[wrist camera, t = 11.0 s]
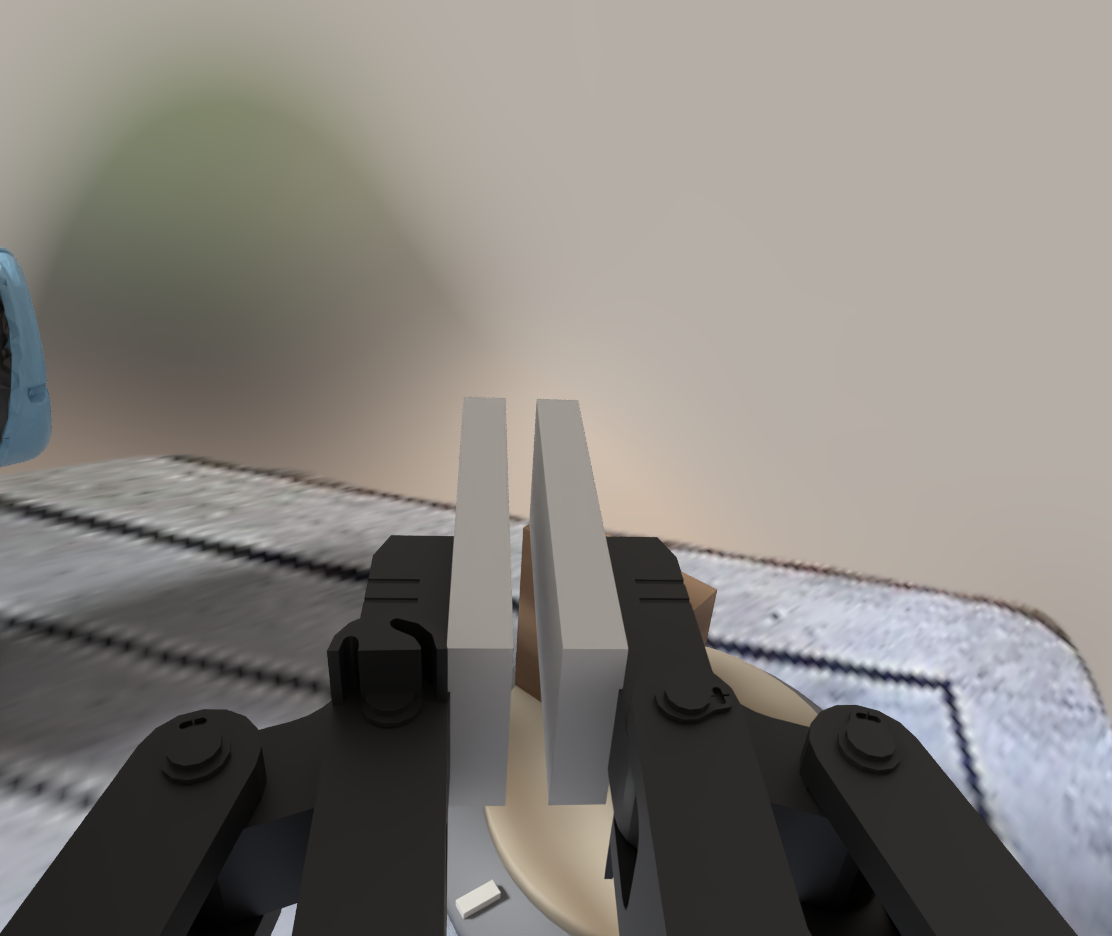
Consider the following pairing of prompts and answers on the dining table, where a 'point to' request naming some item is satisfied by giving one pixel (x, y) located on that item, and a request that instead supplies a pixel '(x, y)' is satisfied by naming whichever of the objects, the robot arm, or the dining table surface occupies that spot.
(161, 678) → the dining table surface
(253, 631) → the dining table surface
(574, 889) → the dial
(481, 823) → the base
